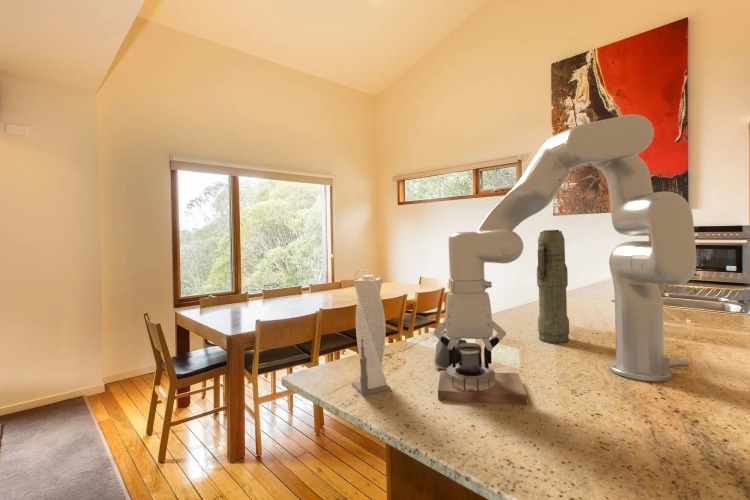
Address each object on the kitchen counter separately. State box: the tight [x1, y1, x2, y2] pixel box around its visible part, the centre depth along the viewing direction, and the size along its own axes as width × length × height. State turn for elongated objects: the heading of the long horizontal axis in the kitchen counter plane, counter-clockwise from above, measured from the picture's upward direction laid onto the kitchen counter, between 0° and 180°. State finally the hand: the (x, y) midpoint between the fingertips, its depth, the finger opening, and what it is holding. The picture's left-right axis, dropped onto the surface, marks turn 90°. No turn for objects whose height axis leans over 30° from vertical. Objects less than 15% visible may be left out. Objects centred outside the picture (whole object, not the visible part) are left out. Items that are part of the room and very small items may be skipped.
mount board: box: [437, 362, 528, 405], centre depth 84 cm, size 18×12×4 cm, turn 77°
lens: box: [458, 342, 483, 376], centre depth 85 cm, size 5×5×8 cm
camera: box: [433, 328, 468, 371], centre depth 104 cm, size 9×16×10 cm, turn 170°
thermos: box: [536, 229, 570, 345], centre depth 119 cm, size 9×12×35 cm
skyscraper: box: [351, 267, 392, 396], centre depth 89 cm, size 8×8×28 cm
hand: (470, 365), depth 85 cm, fingers open, 6 cm apart
